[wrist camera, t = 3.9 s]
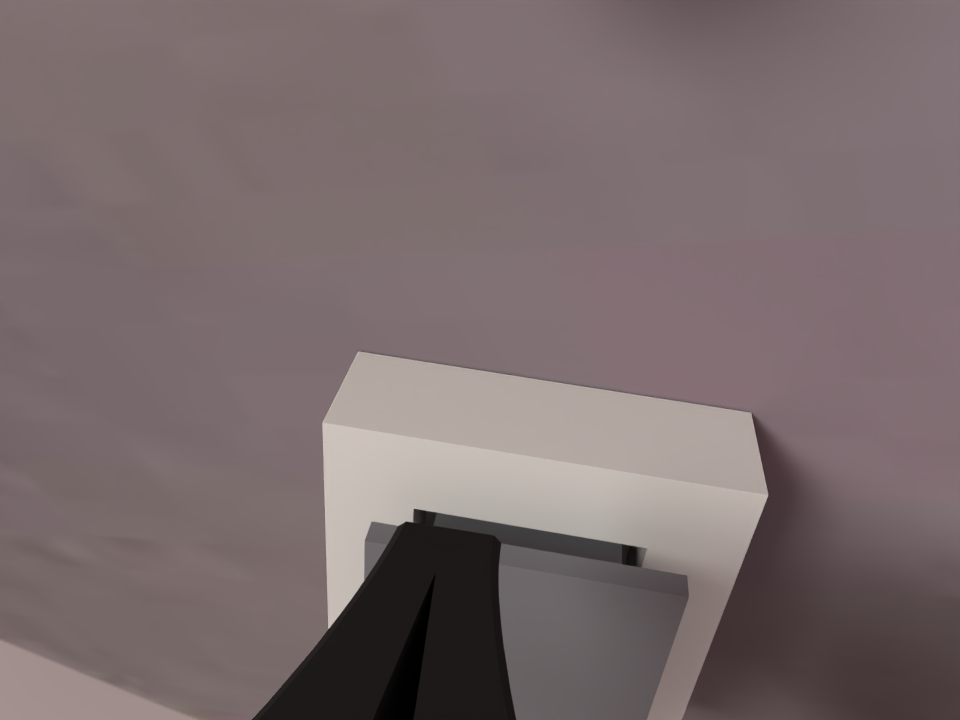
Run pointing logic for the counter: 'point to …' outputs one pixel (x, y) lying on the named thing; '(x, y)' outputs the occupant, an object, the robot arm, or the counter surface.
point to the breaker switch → (573, 621)
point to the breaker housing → (546, 479)
